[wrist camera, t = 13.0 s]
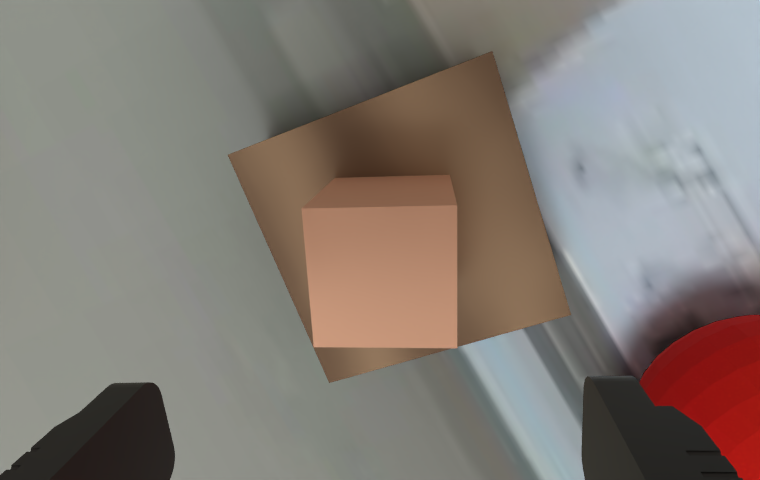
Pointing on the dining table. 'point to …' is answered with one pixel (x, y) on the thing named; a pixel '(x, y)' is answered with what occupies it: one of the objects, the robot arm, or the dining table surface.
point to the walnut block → (417, 158)
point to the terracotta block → (383, 262)
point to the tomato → (716, 386)
